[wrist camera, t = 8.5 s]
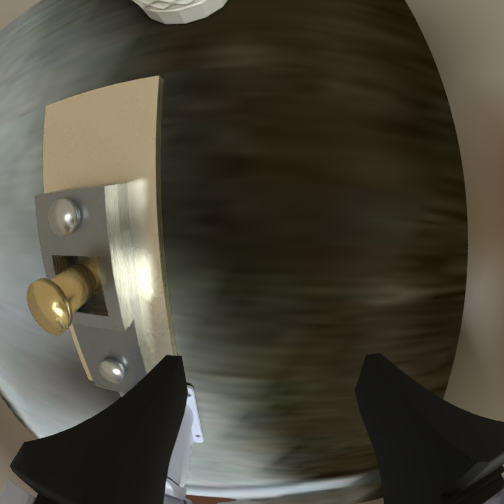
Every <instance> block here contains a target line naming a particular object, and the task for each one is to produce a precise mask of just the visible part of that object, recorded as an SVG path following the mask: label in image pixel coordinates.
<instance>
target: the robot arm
mask: <svg viewBox="0 0 504 504" xmlns="http://www.w3.org/2000/svg"><path fill="white" fill-rule="evenodd" d="M188 393H189V394H188ZM355 393H356V398H357V403H358V407H359V411H360V413H361V416H362V419H363V422H364V424H365V427H366V430H367V432H368V435H369V437H370V440H371V443H372V446H373V448H374V451H375V454H376V458H377V462H378V467H379V471H380V477H381V483H382V490H383V499H384V504H504V478H503V477H502V475H501V474H502V473H503V472H504V467H503V466H502V465H503V464H504V422H501V421H495V420H492V419H488V418H484V417H481V416H478V415H475V414H473V413H470V412H468V411H465V410H463V409H460V408H458V407H456V406H454V405H452V404H450V403H448V402H447V401H445V400H443V399H441V398H440V397H438V396H436V395H435V394H433V393H432V392H430V391H429V390H427V389H426V388H424V387H423V386H421V385H420V384H419V383H417V382H416V381H415V380H413V379H412V378H411V377H409V376H408V375H407V374H405V373H404V372H403V371H402V370H400V369H399V368H398V367H397V366H395V365H394V364H393V363H392V362H390V361H389V360H388V359H386V358H385V357H384V356H382V355H381V354H380V353H378V354H370V355H366V357H365V360H364V364H363V367H362V370H361V373H360V376H359V379H358V382H357V385H356V388H355ZM119 394H120V396H121V398H119V399H118V400H117V401H116V402H114V403H113V404H112V405H110V406H109V407H107V408H106V409H105V410H103V411H101V412H100V413H98V414H97V415H95V416H93V417H92V418H90V419H88V420H86V421H84V422H82V423H80V424H78V425H76V426H74V427H72V428H70V429H67V430H65V431H62V432H60V433H57V434H54V435H51V436H48V437H44V438H41V439H37V440H32V441H28V442H24V443H23V445H22V447H21V448H20V450H19V452H18V453H17V455H16V456H15V458H14V460H13V461H12V463H11V465H10V467H11V469H12V471H13V472H14V473H15V474H16V475H17V476H18V477H19V478H20V479H21V480H23V481H24V482H25V483H26V484H27V485H29V486H30V487H31V488H32V489H33V490H35V491H36V492H37V493H38V495H37V497H36V498H35V497H34V496H32V495H31V494H29V493H28V492H27V491H25V490H24V489H22V488H21V487H19V486H18V485H17V484H15V483H14V482H12V481H11V480H10V479H8V480H7V482H6V484H5V486H4V488H3V490H2V491H1V493H0V504H193V503H192V502H191V501H190V500H188V499H186V498H185V496H186V491H187V490H186V489H185V488H183V487H184V485H185V483H186V481H187V476H188V471H189V466H190V461H191V456H192V450H193V445H194V442H198V443H202V442H203V440H204V438H203V433H202V429H201V424H200V419H199V414H198V409H197V404H196V398H195V393H194V389H193V387H192V386H189V385H187V383H186V378H185V372H184V367H183V361H182V356H175V355H166V356H165V357H164V358H163V359H162V360H161V361H160V362H159V363H158V364H157V365H156V366H155V367H154V368H153V369H152V370H151V371H150V372H149V373H148V374H147V375H146V376H145V377H143V378H142V379H141V380H140V381H139V382H138V383H137V384H136V385H135V386H134V387H133V388H132V389H130V390H129V391H128V392H127V393H126V394H125V393H120V392H119Z"/></svg>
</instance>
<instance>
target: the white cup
mask: <svg viewBox="0 0 504 504" xmlns="http://www.w3.org/2000/svg"><path fill="white" fill-rule="evenodd" d="M132 1H134V2H135V3H136V4H138V5H139V6H140V7H141V8H142V9H143V10H144V11H145V13H146V14H147V15H148V16H149V17H150V18H151V19H153V20H156V21H159V22H161V23H164V24H186V23H189V22H192V21H196V20H199V19H202V18H206V17H208V16H209V15H211V14H212V13H214V12H215V11H217V10H218V9H220V8H222V7H223V6H224V5H225V3H226V2H227V0H132Z"/></svg>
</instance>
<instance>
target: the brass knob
mask: <svg viewBox="0 0 504 504" xmlns="http://www.w3.org/2000/svg"><path fill="white" fill-rule="evenodd" d="M101 288H102V282H101V277H100V271H99V265H98V259H97V257H95V256H87V257H86V258H84V259H82V260H81V261H79V262H78V263H76V264H74V265H73V266H71V267H70V268H68V269H66V270H65V271H63V272H62V273H60V274H59V275H57V276H56V277H54V278H52V279H51V280H50V279H47V278H40V279H38V280H37V281H35V282H33V283H32V284H31V285H30V286H29V288H28V290H27V302H28V306H29V309H30V311H31V313H32V315H33V317H34V319H35V320H36V321H37V323H38V324H39V325H40V326H41V327H42V328H43V329H44V330H46V331H47V332H49V333H51V334H54V335H61V334H62V333H64V332H65V331H66V330H67V329H68V328H69V327H70V325H71V323H72V318H73V315H72V314H73V313H74V312H75V311H76V310H78V309H79V308H80V307H81V306H82V305H83V304H84V303H85V302H86V301H87V300H89V299H90V298H91V297H92V296H93V295H94V294H95V293H96V292H98V291H99V290H100V289H101Z"/></svg>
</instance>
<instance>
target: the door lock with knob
mask: <svg viewBox="0 0 504 504" xmlns="http://www.w3.org/2000/svg"><path fill="white" fill-rule="evenodd" d="M163 87H164V80H163V79H162V78H161V77H160V76H154V77H148V78H143V79H137V80H132V81H128V82H123V83H119V84H114V85H110V86H106V87H102V88H99V89H95V90H92V91H88V92H85V93H81V94H78V95H75V96H72V97H69V98H66V99H63V100H60V101H58V102H55V103H52V104H50V105H47V106H46V112H45V123H44V140H43V184H44V194H39V195H35V204H36V215H37V224H38V232H39V239H40V245H41V251H42V257H43V262H44V267H45V272H46V276H47V279H50V280H51V279H52V278H54V277H56V276H57V275H59V274H60V273H62V272H63V271H65V270H66V269H68V268H70V267H71V266H73V265H74V264H76V263H78V262H79V261H81V260H82V259H84V258H86V257H87V256H95V257H97V259H98V265H99V271H100V277H101V282H102V288H101V289H100V290H99V291H98V292H96V293H95V294H94V295H93V296H92V297H91V298H90V299H89V300H87V301H86V302H85V303H84V304H83V305H82V306H81V307H80V308H79V309H78V310H76V311H75V312H74V313H73V314H72V315H73V318H72V323H71V325H70V327H69V328H70V331H71V334H72V337H73V340H74V343H75V346H76V349H77V351H78V354H79V357H80V359H81V362H82V364H83V367H84V369H85V372H86V374H87V376H88V379H89V380H91V381H94V384H95V386H96V387H99V388H103V389H107V390H112V391H116V392H120V393H125V394H126V393H127V392H128V391H129V390H130V389H132V388H133V387H134V386H135V385H136V384H137V383H138V382H139V381H140V380H141V379H142V378H143V377H145V376H146V375H147V374H148V373H149V372H150V371H151V370H152V369H153V368H154V367H155V366H156V365H157V364H158V363H159V362H160V361H161V360H162V359H163V358H164V357H165V356H166V355H175V356H178V354H177V348H176V342H175V336H174V329H173V322H172V315H171V307H170V299H169V291H168V282H167V272H166V261H165V250H164V236H163V219H162V195H161V125H162V102H163Z"/></svg>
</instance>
